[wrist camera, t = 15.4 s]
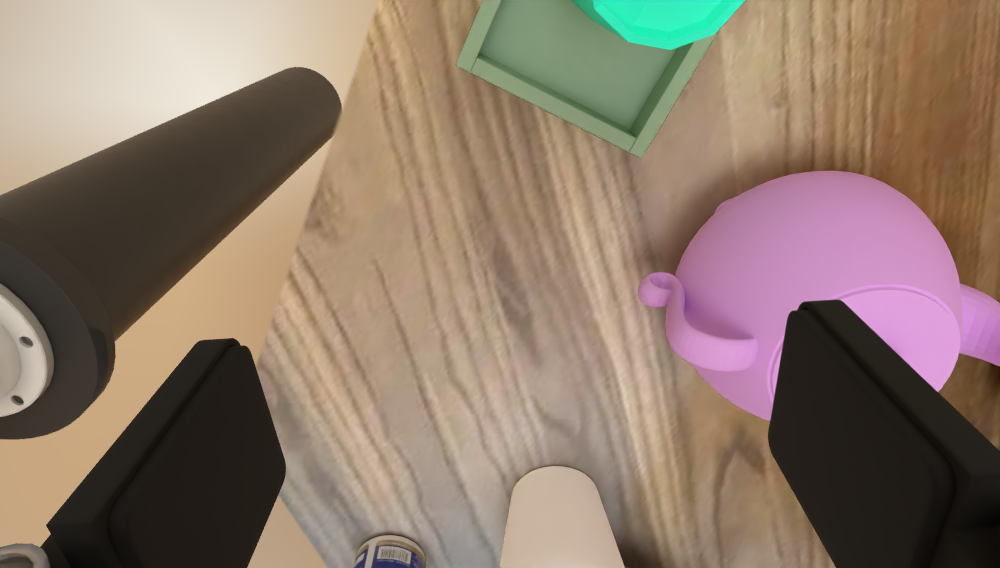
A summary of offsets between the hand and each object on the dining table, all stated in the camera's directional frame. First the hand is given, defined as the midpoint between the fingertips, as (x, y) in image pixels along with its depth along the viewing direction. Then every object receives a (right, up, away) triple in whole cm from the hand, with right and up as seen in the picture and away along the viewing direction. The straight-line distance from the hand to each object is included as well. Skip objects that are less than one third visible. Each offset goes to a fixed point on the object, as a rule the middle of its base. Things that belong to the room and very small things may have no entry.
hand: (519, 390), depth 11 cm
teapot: (+17, +3, +27) cm, 32 cm away
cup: (+4, -14, +36) cm, 39 cm away
